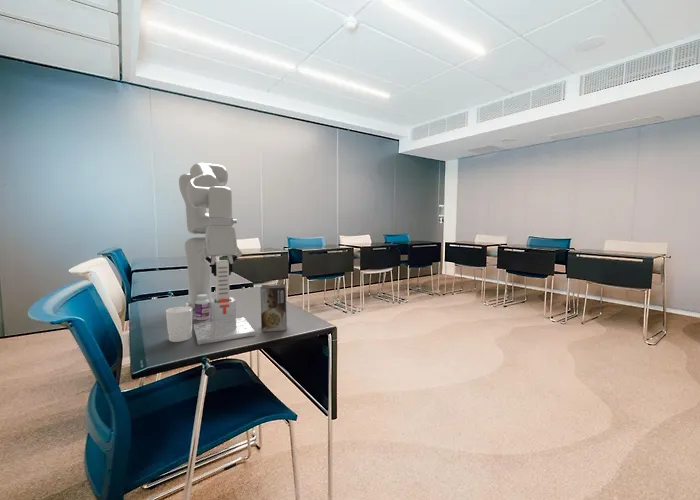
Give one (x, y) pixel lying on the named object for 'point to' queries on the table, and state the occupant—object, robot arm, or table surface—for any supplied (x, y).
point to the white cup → (179, 323)
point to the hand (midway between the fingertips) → (222, 274)
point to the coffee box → (273, 307)
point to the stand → (222, 323)
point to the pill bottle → (202, 307)
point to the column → (222, 280)
